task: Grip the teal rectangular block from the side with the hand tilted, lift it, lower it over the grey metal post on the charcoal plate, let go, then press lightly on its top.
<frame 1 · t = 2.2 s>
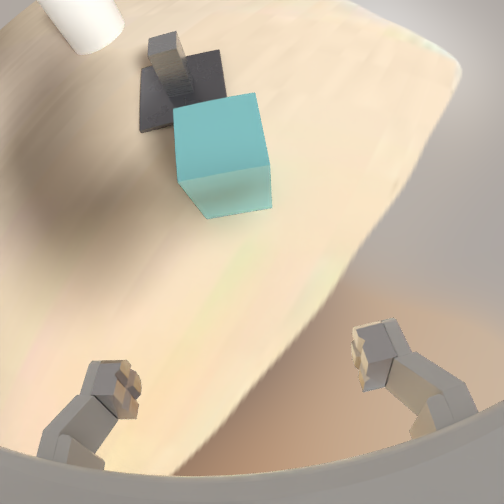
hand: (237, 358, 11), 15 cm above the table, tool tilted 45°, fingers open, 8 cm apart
teal rectangular block: (234, 183, 27), on the table
cup: (99, 35, 33), on the table
post: (181, 88, 30), on the table
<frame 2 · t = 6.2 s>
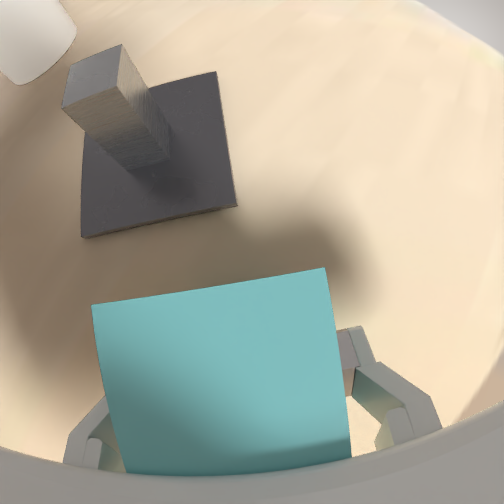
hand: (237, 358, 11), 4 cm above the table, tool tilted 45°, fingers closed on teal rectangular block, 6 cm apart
teal rectangular block: (251, 357, 15), on the table, touching gripper
cup: (43, 53, 21), on the table
post: (150, 149, 17), on the table
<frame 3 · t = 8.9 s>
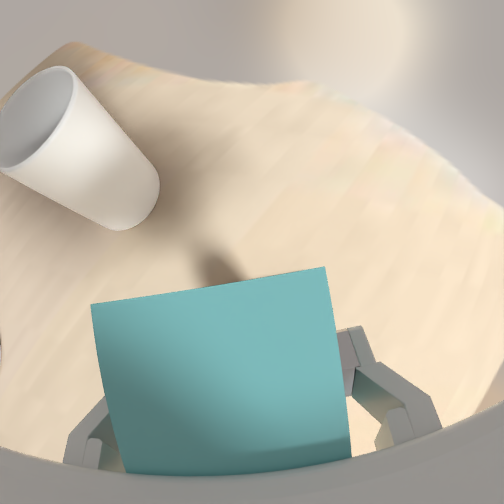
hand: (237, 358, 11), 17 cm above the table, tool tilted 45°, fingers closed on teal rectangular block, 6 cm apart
teal rectangular block: (251, 356, 15), point 13 cm above the table, touching gripper
cup: (124, 192, 31), on the table
when the fingers open (7 cm above the table, at t = 11.8 s): teal rectangular block drops 2 cm, resting on post.
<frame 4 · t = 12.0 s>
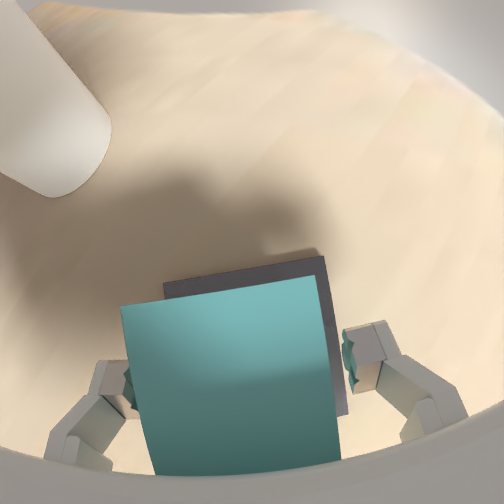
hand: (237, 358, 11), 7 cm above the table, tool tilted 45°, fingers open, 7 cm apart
teal rectangular block: (253, 352, 16), resting on post
cup: (68, 148, 21), on the table
post: (255, 351, 17), on the table
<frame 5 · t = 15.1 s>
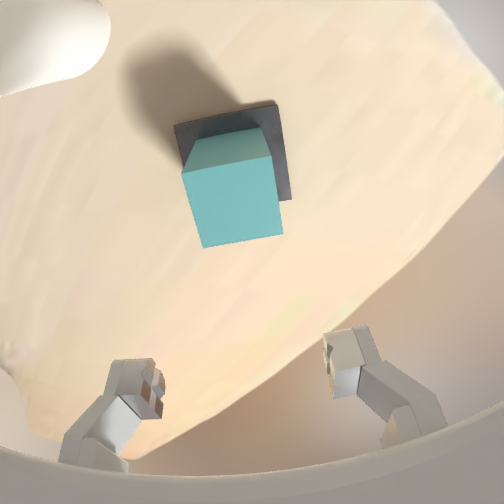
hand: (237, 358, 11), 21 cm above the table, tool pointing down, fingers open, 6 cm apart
teal rectangular block: (234, 162, 28), resting on post
cup: (71, 37, 20), on the table
post: (235, 161, 28), on the table
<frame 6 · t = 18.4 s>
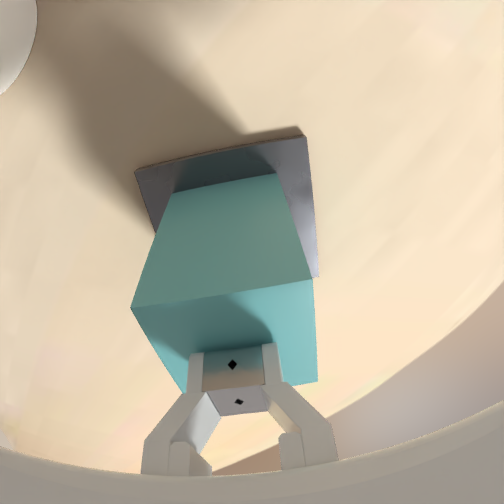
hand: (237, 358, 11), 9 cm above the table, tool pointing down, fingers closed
teal rectangular block: (234, 228, 18), resting on post
post: (235, 224, 18), on the table
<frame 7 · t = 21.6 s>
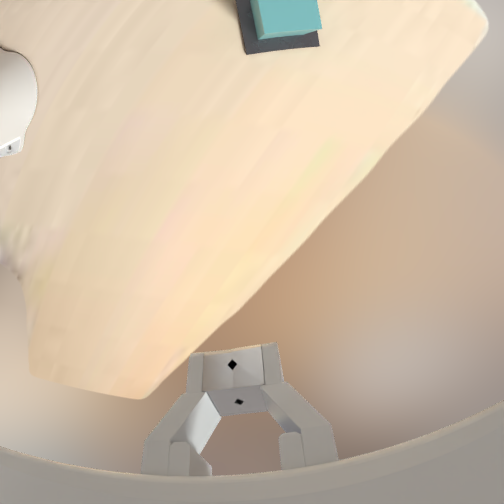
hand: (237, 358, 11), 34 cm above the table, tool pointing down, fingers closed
teal rectangular block: (277, 16, 30), resting on post
post: (277, 17, 31), on the table
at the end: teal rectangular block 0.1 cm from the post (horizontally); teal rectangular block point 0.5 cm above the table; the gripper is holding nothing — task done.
